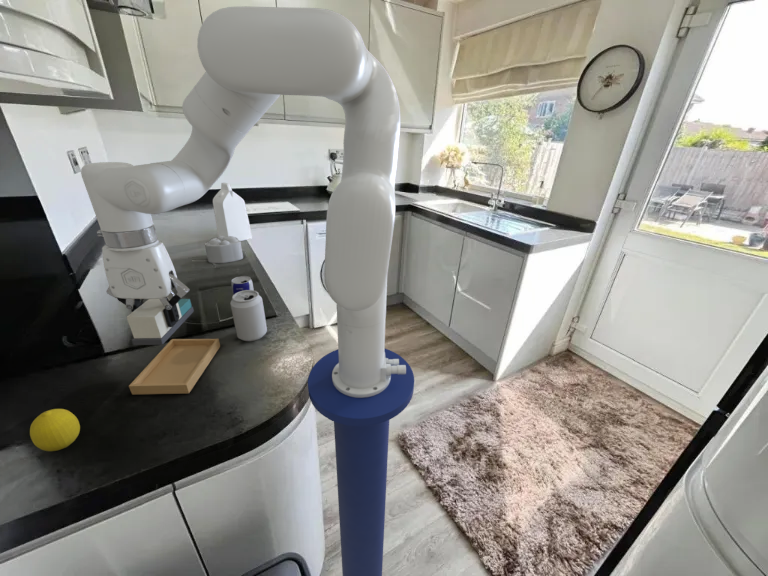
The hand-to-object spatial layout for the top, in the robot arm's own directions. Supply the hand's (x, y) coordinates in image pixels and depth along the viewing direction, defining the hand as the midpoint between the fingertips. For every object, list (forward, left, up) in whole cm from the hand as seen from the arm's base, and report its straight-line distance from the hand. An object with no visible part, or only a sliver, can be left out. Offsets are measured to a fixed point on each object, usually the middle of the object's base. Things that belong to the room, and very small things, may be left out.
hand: (158, 322), depth 65 cm
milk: (+22, -100, -14) cm, 104 cm away
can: (-12, -15, -14) cm, 24 cm away
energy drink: (-8, -24, -14) cm, 29 cm away
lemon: (+9, +18, -14) cm, 24 cm away
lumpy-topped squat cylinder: (+16, -72, -14) cm, 75 cm away
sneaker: (0, -2, -2) cm, 3 cm away
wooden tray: (0, -2, -13) cm, 14 cm away
